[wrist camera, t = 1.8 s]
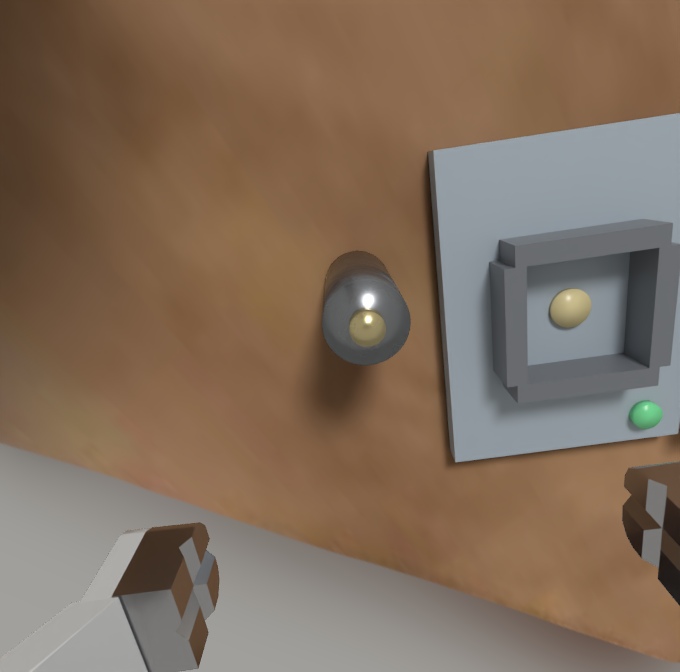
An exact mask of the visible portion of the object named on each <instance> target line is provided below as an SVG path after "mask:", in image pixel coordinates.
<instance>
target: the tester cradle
mask: <svg viewBox="0 0 680 672" xmlns="http://www.w3.org/2000/svg"><path fill="white" fill-rule="evenodd" d="M428 159H429V172H430V185H431V199H432V212H433V226H434V239H435V252H436V266H437V279H438V293H439V306H440V319H441V333H442V346H443V360H444V373H445V387H446V400H447V413H448V427H449V440H450V451H451V453H452V455H453V458H454V460H455V462H463V461H471V460H478V459H486V458H494V457H502V456H509V455H517V454H525V453H533V452H540V451H548V450H556V449H564V448H571V447H579V446H587V445H595V444H602V443H610V442H618V441H626V440H633V439H641V438H649V437H657V436H664V435H672V434H678V431H679V422H680V113H677V114H671V115H664V116H657V117H651V118H644V119H638V120H631V121H625V122H618V123H611V124H605V125H598V126H592V127H585V128H579V129H572V130H565V131H559V132H552V133H546V134H539V135H533V136H526V137H519V138H513V139H506V140H500V141H493V142H487V143H480V144H473V145H467V146H460V147H454V148H447V149H441V150H434V151H430V152H428Z"/></svg>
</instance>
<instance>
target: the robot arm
mask: <svg viewBox="0 0 680 672" xmlns="http://www.w3.org/2000/svg"><path fill="white" fill-rule="evenodd" d="M624 487H625V488H626V489H627V490H628V491H629V493H630V494H631V496H630V497H629V499H628V500H627V501H626V502H625V504H624V505H623V513H622V521H623V525H624V528H625V532H626V535H627V537H628V539H629V541H630V543H631V545H632V547H633V548H634V549H635V551H636V552H637V553H638V555H639V556H640V557H641V559H643V560H645V561H647V562H649V563H651V564H653V565H655V566H656V567H658V580H659V581H660V582H661V583H662V585H663V586H664V587H665V588H666V590H667V591H668V592H669V593H670V594H671V596H672V597H673V598H674V599H675V601H676V602H677V603H678V604H679V606H680V461H677V462H670V463H662V464H655V465H647V466H640V467H632V468H628V470H627V472H626V474H625V480H624ZM208 542H209V536H208V533H207V530H206V527H205V525H204V524H202V523H191V524H182V525H172V526H163V527H153V528H147V529H138V530H128V531H126V532H124V533H123V534H121V535H120V536H119V538H118V539H117V541H116V543H115V544H114V546H113V548H112V549H111V551H110V553H109V554H108V556H107V558H106V559H105V561H104V563H103V564H102V566H101V568H100V569H99V571H98V572H97V574H96V576H95V577H94V579H93V581H92V582H91V584H90V586H89V587H88V589H87V591H86V593H85V594H84V596H83V597H82V599H81V601H80V602H74V603H71V604H69V605H68V606H67V607H66V608H64V609H63V610H62V611H60V612H59V613H58V614H57V615H55V616H54V617H53V618H51V619H50V620H49V621H48V622H47V623H45V624H44V625H42V627H40V628H39V629H37V630H36V631H35V632H33V633H32V634H31V635H30V636H28V637H27V638H26V639H24V640H23V641H22V642H21V643H19V644H18V645H17V646H15V647H14V648H13V649H12V650H10V651H9V652H8V653H6V654H5V655H4V656H3V657H1V658H0V672H178V671H185V670H192V669H198V668H199V664H200V661H201V657H202V654H203V650H204V646H205V643H206V639H207V636H208V629H207V626H206V623H205V620H206V619H207V618H208V617H209V616H210V614H211V613H212V612H213V611H214V610H215V606H216V603H217V599H218V590H219V572H218V566H217V562H216V559H215V556H213V555H212V554H211V553H209V552H208V551H207V550H206V548H207V545H208Z"/></svg>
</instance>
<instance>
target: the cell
mask: <svg viewBox="0 0 680 672" xmlns="http://www.w3.org/2000/svg"><path fill="white" fill-rule="evenodd" d="M322 328H323V334H324V337H325V340H326V342H327V344H328V345H329V347H330V348H331V350H332V351H333V352H334V353H335V354H336V355H338V356H339V357H340V358H342V359H344V360H346V361H348V362H350V363H354V364H359V365H372V364H377V363H380V362H383V361H385V360H387V359H389V358H391V357H392V356H393V355H395V354H396V353H397V352H398V351H399V350H400V349H401V348H402V346H403V345H404V343H405V341H406V340H407V337H408V335H409V331H410V313H409V310H408V307H407V305H406V303H405V301H404V299H403V297H402V295H401V294H400V292H399V290H398V288H397V287H396V285H395V283H394V281H393V280H392V278H391V276H390V274H389V273H388V271H387V269H386V267H385V266H384V264H383V263H382V262H381V261H380V260H379V259H378V258H377V257H376V256H374V255H372V254H370V253H367V252H363V251H352V252H348V253H345V254H343V255H341V256H340V257H338V258H337V259H336V260H335V261H334V262H333V263H332V264H331V266H330V267H329V269H328V271H327V274H326V279H325V292H324V305H323V318H322Z"/></svg>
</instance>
